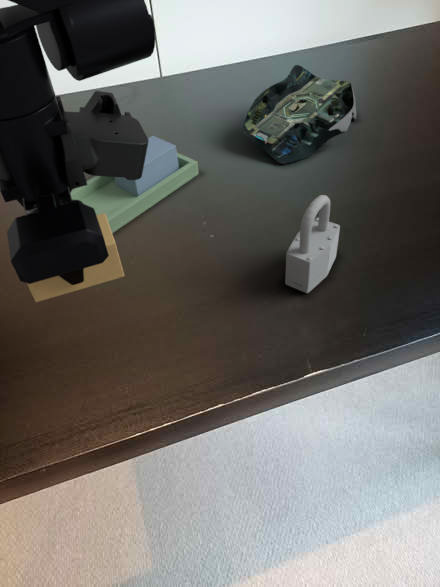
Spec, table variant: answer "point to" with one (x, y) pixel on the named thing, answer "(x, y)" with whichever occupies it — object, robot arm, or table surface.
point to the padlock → (312, 247)
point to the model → (300, 115)
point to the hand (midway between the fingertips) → (73, 265)
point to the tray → (130, 194)
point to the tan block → (91, 274)
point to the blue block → (153, 167)
